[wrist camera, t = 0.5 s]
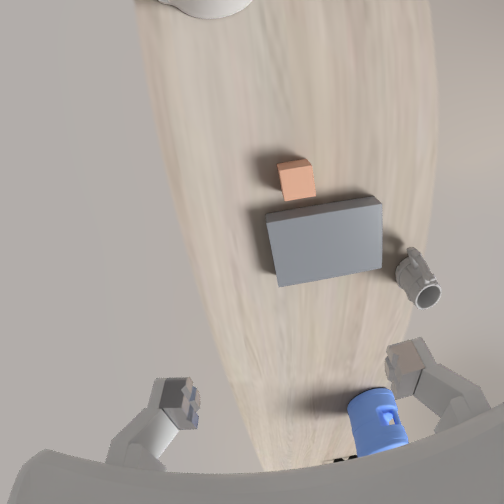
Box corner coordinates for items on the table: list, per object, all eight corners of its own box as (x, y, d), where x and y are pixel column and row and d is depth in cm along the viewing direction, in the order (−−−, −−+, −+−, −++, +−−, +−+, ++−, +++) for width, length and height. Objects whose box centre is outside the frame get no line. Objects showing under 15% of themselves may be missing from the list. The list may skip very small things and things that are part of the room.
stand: (265, 214, 53) (266, 223, 49) (373, 196, 51) (382, 203, 48) (277, 275, 59) (278, 287, 56) (374, 257, 57) (381, 267, 54)
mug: (395, 289, 61) (416, 325, 51) (388, 245, 56) (414, 279, 45) (424, 277, 60) (449, 310, 49) (420, 233, 55) (450, 263, 44)
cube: (276, 163, 49) (279, 170, 44) (306, 158, 48) (311, 165, 44) (281, 191, 51) (284, 201, 47) (310, 186, 51) (316, 196, 46)
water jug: (356, 417, 89) (372, 487, 64) (339, 401, 82) (354, 481, 58) (397, 398, 84) (419, 467, 60) (384, 380, 78) (410, 459, 53)
